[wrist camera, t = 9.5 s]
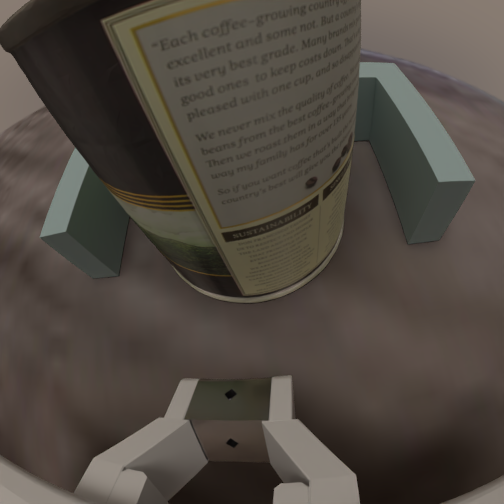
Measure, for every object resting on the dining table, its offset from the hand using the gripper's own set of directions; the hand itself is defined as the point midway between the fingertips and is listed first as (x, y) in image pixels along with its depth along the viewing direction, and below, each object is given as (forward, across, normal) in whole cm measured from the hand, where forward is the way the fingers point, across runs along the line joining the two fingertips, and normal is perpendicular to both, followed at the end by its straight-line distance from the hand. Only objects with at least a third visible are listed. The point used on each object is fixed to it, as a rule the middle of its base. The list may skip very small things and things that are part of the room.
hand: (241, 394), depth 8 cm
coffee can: (+10, 0, -3) cm, 11 cm away
